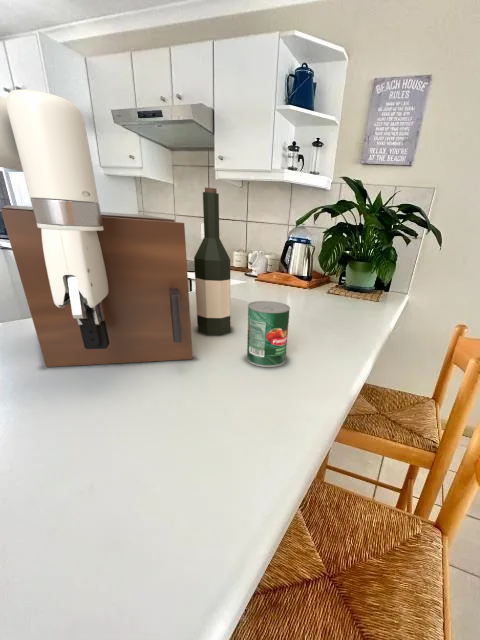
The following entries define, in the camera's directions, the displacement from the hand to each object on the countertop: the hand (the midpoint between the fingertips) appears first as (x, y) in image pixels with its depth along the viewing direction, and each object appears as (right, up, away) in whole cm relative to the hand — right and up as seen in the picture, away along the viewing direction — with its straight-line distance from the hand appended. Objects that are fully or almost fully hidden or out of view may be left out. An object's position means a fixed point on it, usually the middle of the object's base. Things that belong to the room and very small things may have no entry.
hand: (97, 346), depth 51 cm
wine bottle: (+12, +7, +28) cm, 32 cm away
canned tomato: (+26, -1, +15) cm, 30 cm away
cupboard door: (+1, -3, +6) cm, 7 cm away
